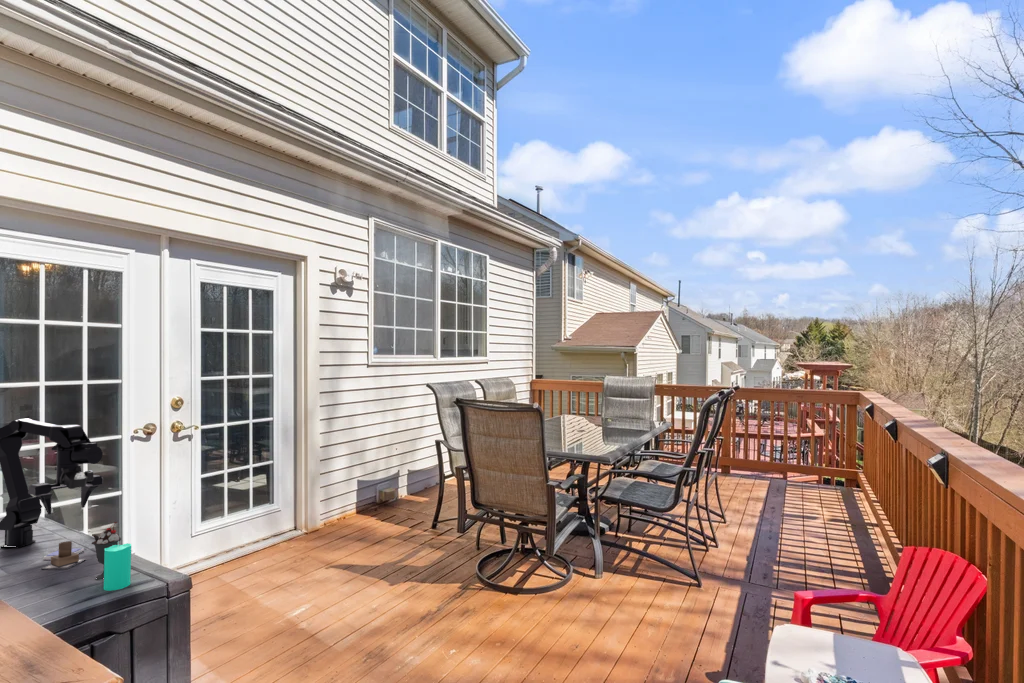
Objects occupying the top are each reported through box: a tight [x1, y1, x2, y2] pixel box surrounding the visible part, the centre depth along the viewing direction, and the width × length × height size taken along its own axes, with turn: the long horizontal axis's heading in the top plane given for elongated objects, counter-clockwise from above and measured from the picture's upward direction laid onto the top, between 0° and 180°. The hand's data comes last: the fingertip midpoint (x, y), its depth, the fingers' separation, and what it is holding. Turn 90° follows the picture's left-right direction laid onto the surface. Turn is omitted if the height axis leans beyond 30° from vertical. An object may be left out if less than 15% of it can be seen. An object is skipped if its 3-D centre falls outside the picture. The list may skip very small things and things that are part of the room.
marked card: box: [40, 558, 87, 570], centre depth 161 cm, size 8×8×1 cm
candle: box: [103, 541, 132, 592], centre depth 145 cm, size 6×6×12 cm
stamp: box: [50, 540, 80, 568], centre depth 161 cm, size 5×5×6 cm
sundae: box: [91, 521, 122, 579], centre depth 152 cm, size 7×7×15 cm
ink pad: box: [43, 547, 85, 561], centre depth 169 cm, size 7×7×1 cm
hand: (66, 510), depth 177 cm, fingers open, 9 cm apart
